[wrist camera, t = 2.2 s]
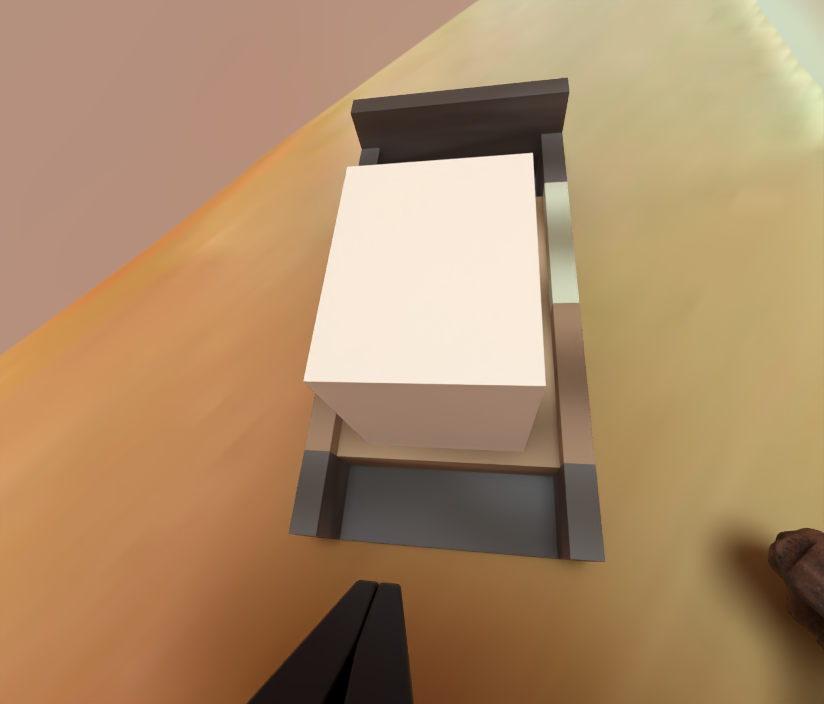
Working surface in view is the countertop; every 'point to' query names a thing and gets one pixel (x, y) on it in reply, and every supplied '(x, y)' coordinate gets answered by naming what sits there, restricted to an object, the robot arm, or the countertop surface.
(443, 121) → the box
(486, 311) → the block
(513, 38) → the countertop surface
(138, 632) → the countertop surface
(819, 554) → the pottery mug
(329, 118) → the countertop surface
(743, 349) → the countertop surface
